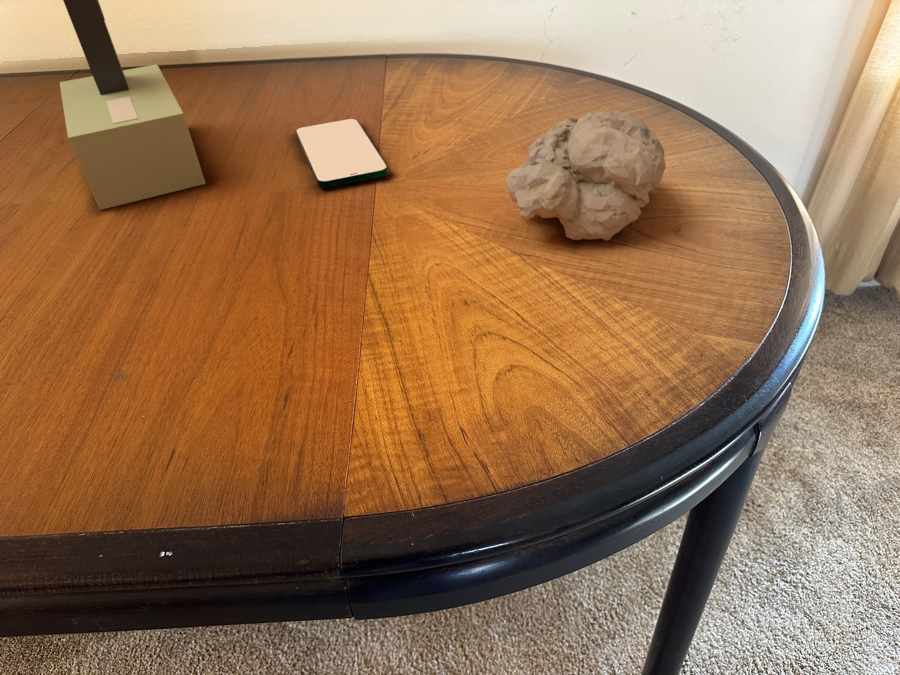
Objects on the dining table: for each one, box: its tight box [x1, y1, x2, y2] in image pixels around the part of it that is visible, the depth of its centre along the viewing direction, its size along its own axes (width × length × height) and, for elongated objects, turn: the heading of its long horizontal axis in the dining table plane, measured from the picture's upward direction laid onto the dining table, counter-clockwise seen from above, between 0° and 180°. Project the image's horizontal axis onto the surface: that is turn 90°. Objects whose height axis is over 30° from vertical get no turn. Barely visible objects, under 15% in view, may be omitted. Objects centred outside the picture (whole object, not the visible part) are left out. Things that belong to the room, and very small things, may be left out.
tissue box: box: [59, 64, 206, 211], centre depth 74 cm, size 18×11×8 cm, turn 27°
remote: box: [62, 0, 129, 95], centre depth 69 cm, size 3×5×13 cm, turn 26°
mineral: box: [505, 109, 666, 242], centre depth 61 cm, size 12×17×10 cm
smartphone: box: [295, 118, 389, 189], centre depth 75 cm, size 8×1×16 cm
